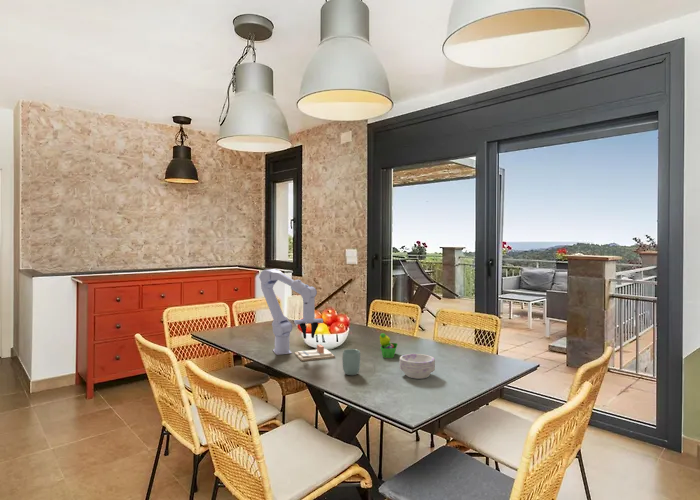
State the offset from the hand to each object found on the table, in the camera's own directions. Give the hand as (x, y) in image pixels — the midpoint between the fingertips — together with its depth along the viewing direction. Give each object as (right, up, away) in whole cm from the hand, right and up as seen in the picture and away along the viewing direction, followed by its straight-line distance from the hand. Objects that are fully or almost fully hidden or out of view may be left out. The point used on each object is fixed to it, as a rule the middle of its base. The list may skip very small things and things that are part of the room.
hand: (308, 337), depth 210 cm
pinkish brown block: (+7, -8, +3) cm, 11 cm away
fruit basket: (+40, -10, +4) cm, 41 cm away
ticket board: (+3, -9, +1) cm, 10 cm away
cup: (+21, -11, -27) cm, 36 cm away
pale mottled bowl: (+50, -11, -28) cm, 58 cm away
